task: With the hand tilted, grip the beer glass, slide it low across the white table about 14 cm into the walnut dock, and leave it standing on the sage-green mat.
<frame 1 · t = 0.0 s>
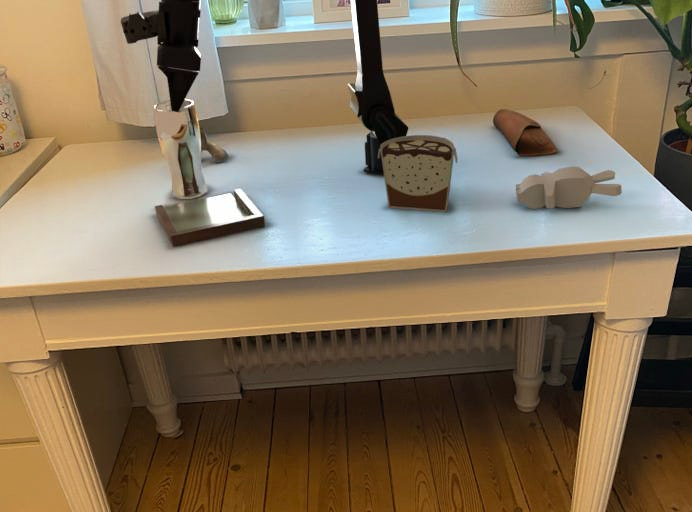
hand: (174, 103, 120), 15 cm above the table, tool pointing down, fingers open, 9 cm apart
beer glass: (190, 193, 130), on the table
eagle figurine: (205, 159, 145), on the table
food container: (422, 203, 120), on the table
dock: (208, 220, 120), on the table
sunglasses case: (523, 141, 142), on the table
bunny figurine: (564, 204, 116), on the table
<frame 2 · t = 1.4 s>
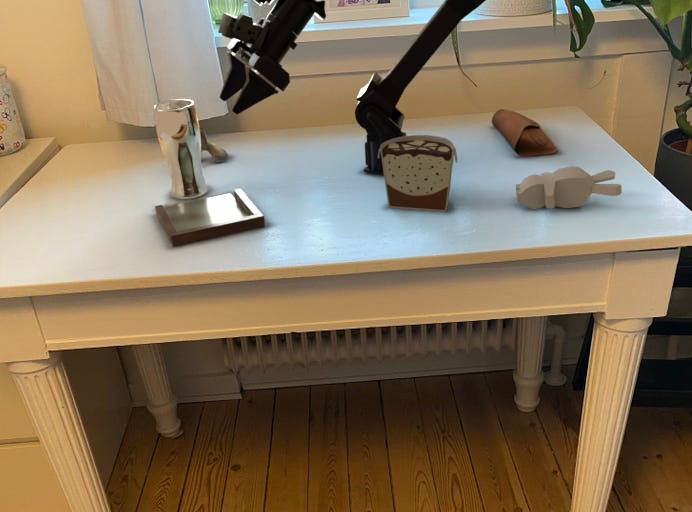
hand: (227, 105, 125), 13 cm above the table, tool tilted 45°, fingers open, 9 cm apart
nothing on the table moved.
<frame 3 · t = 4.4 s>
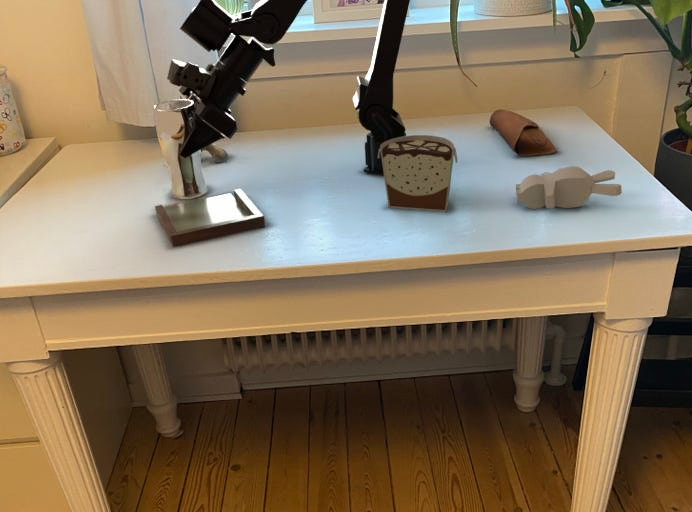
hand: (178, 150, 126), 8 cm above the table, tool tilted 45°, fingers closed on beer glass, 7 cm apart
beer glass: (190, 193, 130), on the table, touching gripper
everything else where it was.
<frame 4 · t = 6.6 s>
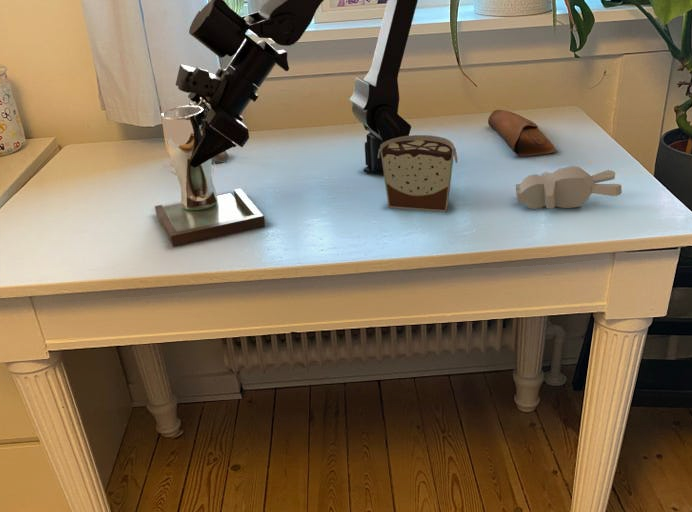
hand: (187, 159, 120), 8 cm above the table, tool tilted 45°, fingers closed on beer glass, 7 cm apart
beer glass: (200, 204, 125), resting on dock, touching gripper
everything else where it was.
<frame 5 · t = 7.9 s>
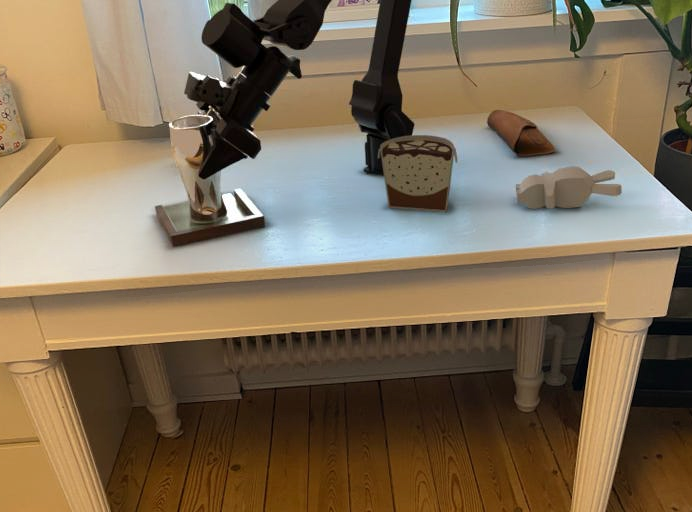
hand: (196, 170, 115), 8 cm above the table, tool tilted 45°, fingers closed on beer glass, 7 cm apart
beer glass: (209, 217, 120), resting on dock, touching gripper
everything else where it was.
when the fingers open (8 cm above the table, at t = 8.8 s): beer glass stays where it is, resting on dock.
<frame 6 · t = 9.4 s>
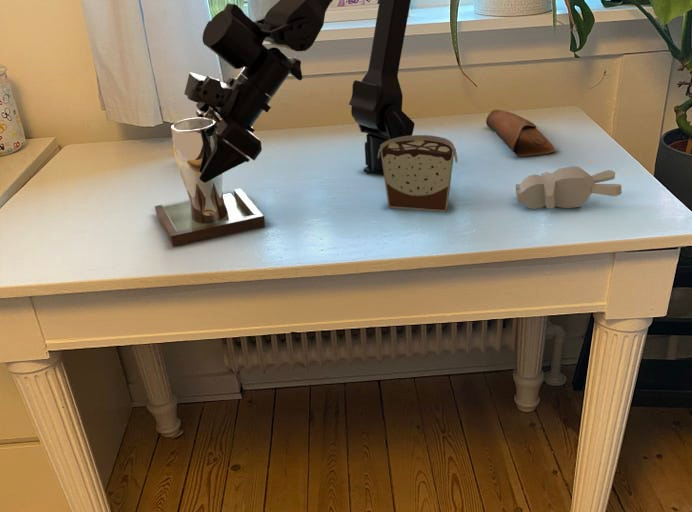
hand: (195, 171, 115), 8 cm above the table, tool tilted 45°, fingers open, 9 cm apart
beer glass: (210, 219, 120), resting on dock
everything else where it was.
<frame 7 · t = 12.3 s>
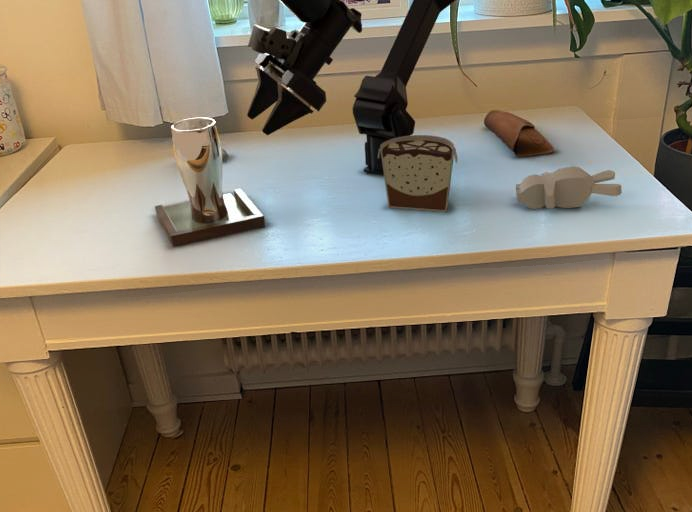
hand: (256, 125, 115), 13 cm above the table, tool tilted 45°, fingers open, 9 cm apart
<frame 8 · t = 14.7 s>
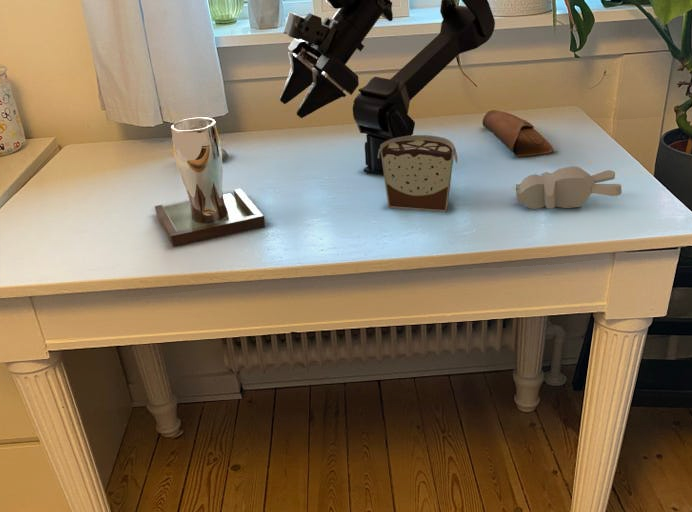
hand: (290, 109, 120), 14 cm above the table, tool tilted 45°, fingers open, 9 cm apart
at the end: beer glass 0.2 cm off-centre on the dock, point 0.0 cm above the dock's base; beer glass tilted 0°; the gripper is holding nothing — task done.
